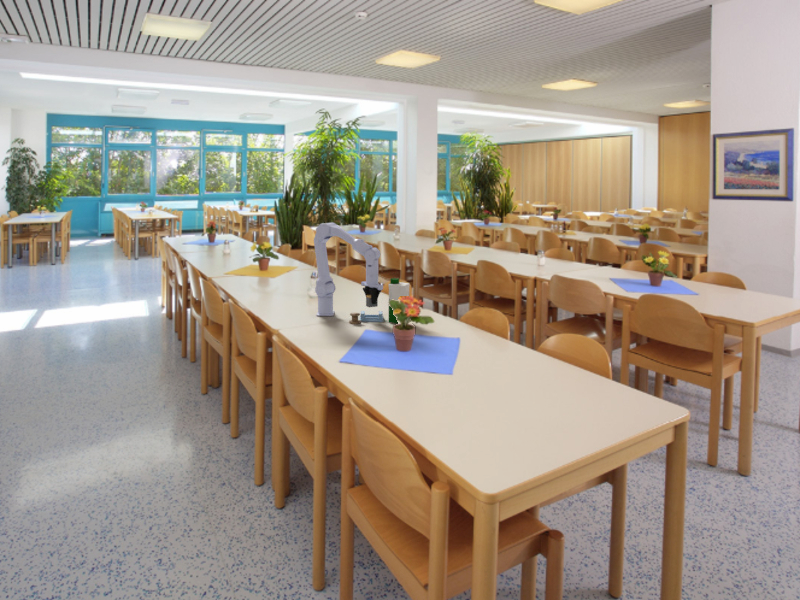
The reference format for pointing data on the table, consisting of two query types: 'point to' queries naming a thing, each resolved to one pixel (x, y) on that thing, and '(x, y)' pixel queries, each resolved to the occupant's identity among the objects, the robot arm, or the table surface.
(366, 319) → the blue square socket
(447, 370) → the table surface
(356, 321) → the bobbin
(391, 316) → the soya milk
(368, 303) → the orange and grey block
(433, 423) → the table surface
